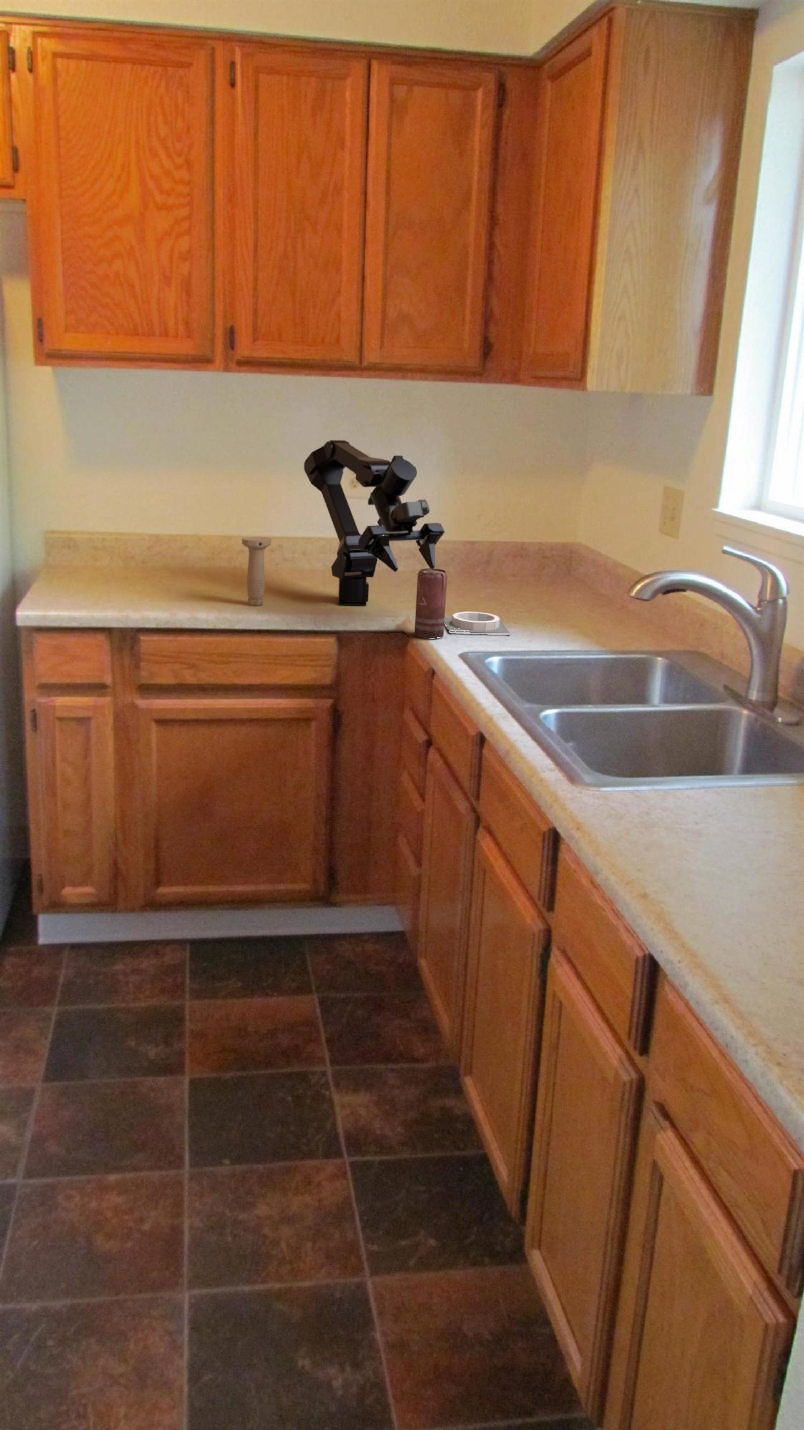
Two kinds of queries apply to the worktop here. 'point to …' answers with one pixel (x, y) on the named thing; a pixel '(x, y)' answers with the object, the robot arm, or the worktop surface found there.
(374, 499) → the robot arm
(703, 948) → the worktop surface
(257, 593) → the handle
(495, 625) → the square base with ring
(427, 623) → the can
